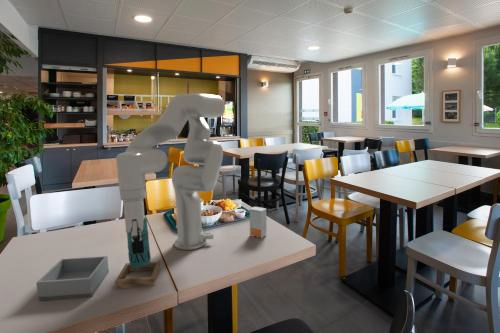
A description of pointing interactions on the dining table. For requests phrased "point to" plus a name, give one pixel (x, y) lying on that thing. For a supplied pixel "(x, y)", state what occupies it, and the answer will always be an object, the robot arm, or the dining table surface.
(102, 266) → the bin
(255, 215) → the skincare box
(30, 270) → the dining table surface
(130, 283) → the collar
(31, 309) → the dining table surface
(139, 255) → the beverage bottle
